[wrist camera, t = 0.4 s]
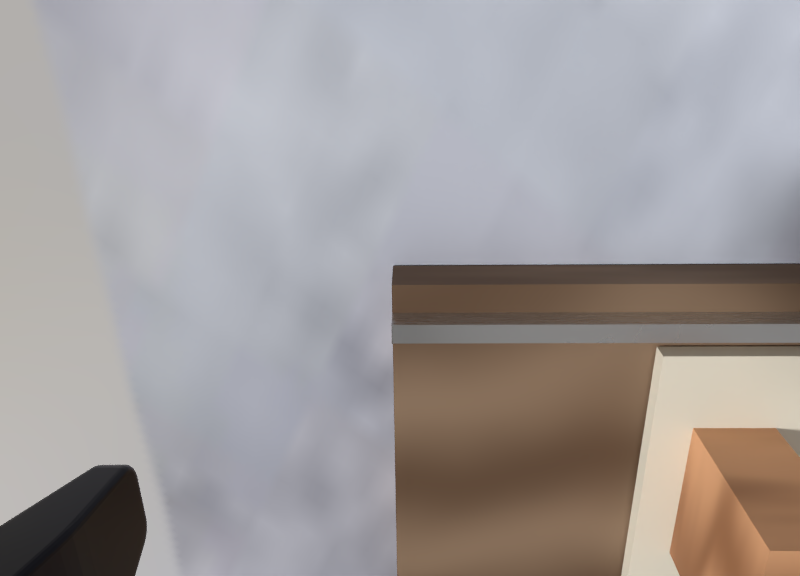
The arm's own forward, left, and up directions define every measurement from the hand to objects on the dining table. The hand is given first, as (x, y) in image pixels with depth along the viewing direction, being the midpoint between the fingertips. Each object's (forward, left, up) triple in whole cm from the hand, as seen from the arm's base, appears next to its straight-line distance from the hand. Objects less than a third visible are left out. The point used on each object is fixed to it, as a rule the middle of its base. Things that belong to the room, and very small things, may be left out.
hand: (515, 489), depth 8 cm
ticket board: (-10, -10, -14) cm, 19 cm away
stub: (-10, -9, -12) cm, 18 cm away
